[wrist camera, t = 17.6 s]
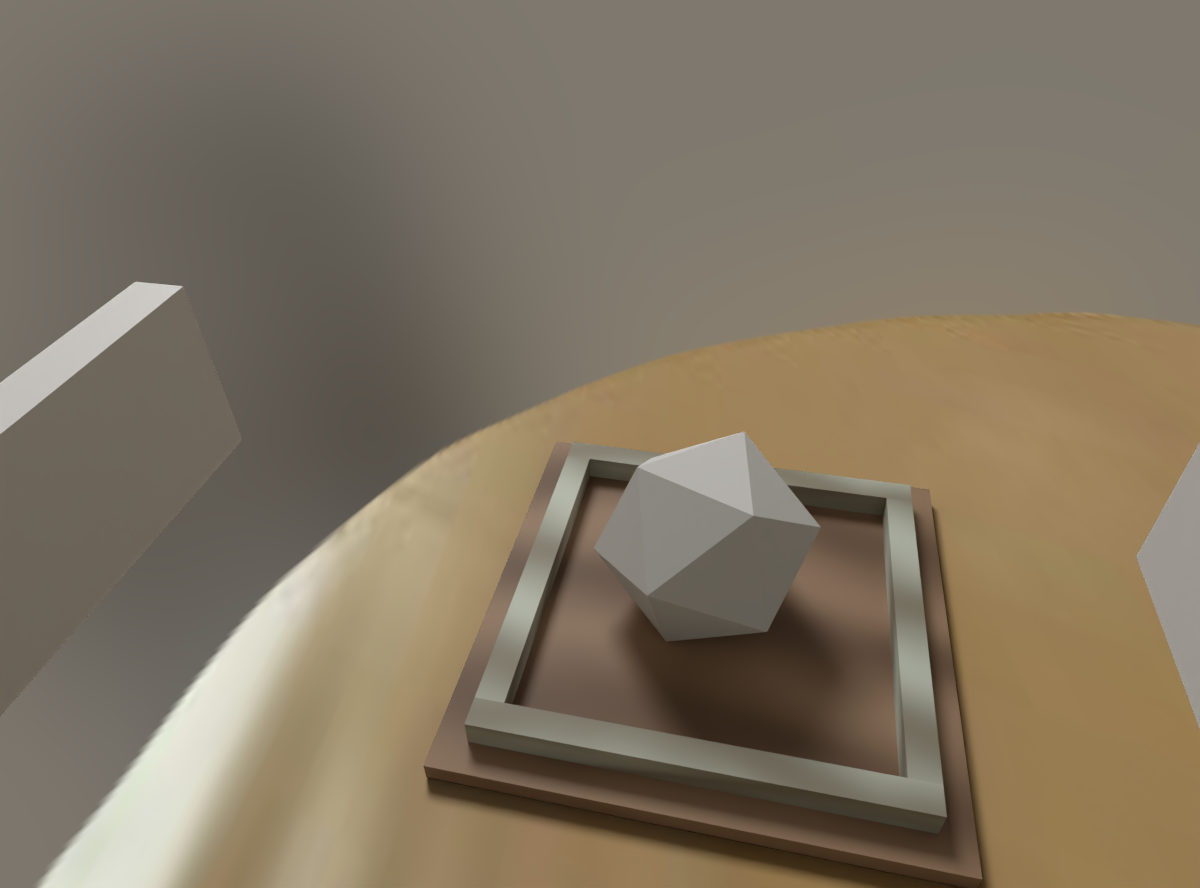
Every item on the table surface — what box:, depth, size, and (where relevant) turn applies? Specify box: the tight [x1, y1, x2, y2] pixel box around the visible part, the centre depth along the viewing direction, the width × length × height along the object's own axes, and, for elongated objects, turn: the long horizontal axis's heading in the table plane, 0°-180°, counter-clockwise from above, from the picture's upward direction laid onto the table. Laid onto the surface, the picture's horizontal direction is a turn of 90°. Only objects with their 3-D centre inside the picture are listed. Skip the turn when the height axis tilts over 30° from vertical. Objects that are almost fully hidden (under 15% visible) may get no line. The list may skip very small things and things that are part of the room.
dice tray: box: [424, 441, 982, 888], centre depth 37 cm, size 20×20×2 cm
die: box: [594, 432, 821, 642], centre depth 35 cm, size 8×9×10 cm
